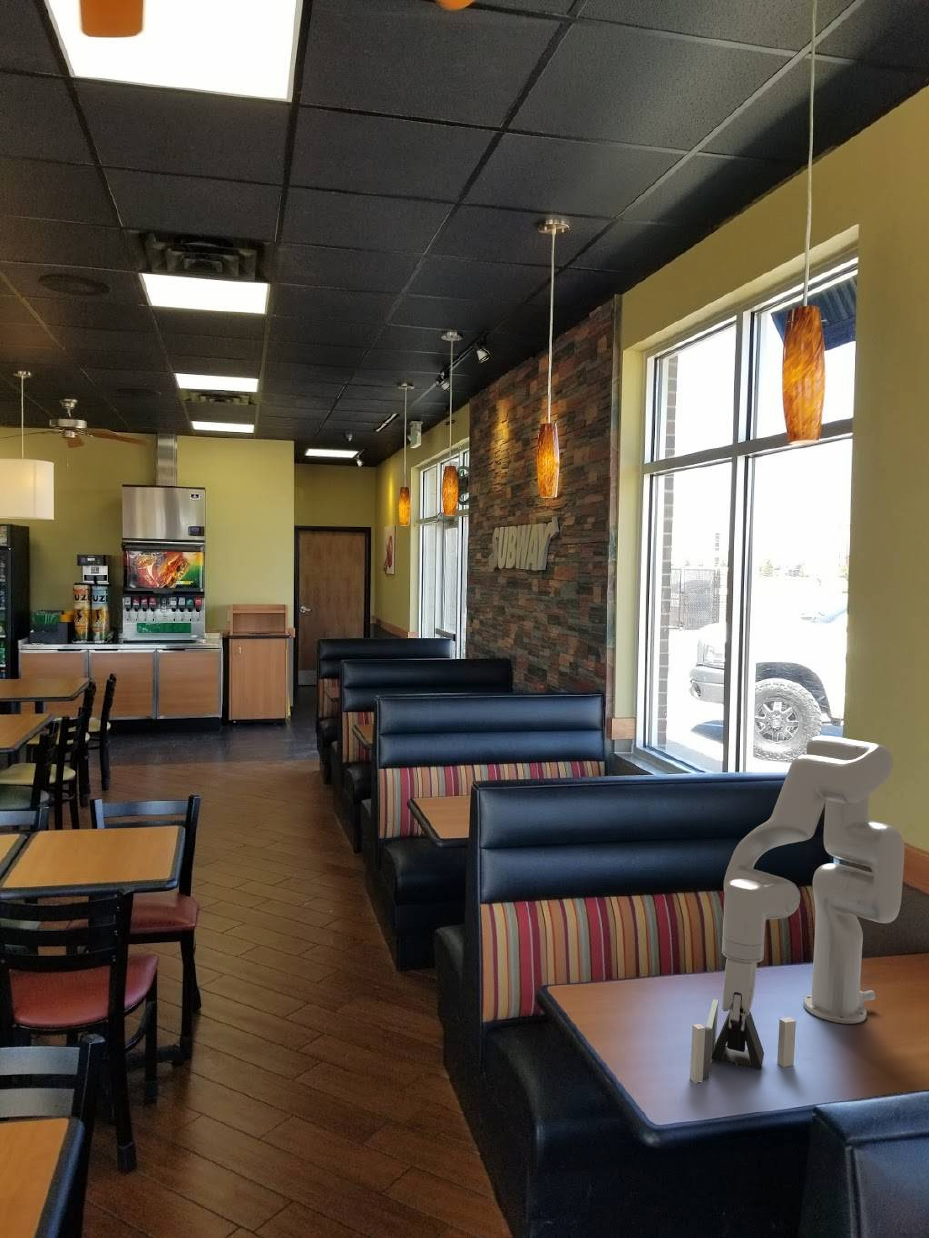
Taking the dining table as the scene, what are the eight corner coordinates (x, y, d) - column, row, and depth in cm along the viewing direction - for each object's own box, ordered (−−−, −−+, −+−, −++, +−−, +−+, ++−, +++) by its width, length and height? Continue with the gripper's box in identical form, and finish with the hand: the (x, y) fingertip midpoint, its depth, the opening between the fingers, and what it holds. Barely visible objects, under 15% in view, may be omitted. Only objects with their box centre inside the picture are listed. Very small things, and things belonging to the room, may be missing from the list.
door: (708, 1080, 162) (711, 1031, 161) (700, 1078, 162) (703, 1029, 162) (717, 1041, 176) (719, 996, 176) (710, 1039, 177) (712, 994, 177)
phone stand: (764, 1055, 169) (765, 992, 169) (761, 1070, 164) (763, 1005, 164) (715, 1045, 173) (717, 983, 173) (711, 1059, 167) (712, 996, 167)
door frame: (787, 1060, 170) (790, 1009, 170) (793, 1065, 169) (796, 1012, 169) (689, 1078, 162) (692, 1024, 162) (695, 1083, 161) (697, 1028, 161)
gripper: (728, 928, 177) (723, 1017, 178) (715, 959, 161) (710, 1057, 162) (767, 935, 174) (763, 1026, 175) (759, 968, 158) (753, 1068, 159)
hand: (738, 1040), depth 168 cm, fingers closed on phone stand, 6 cm apart
